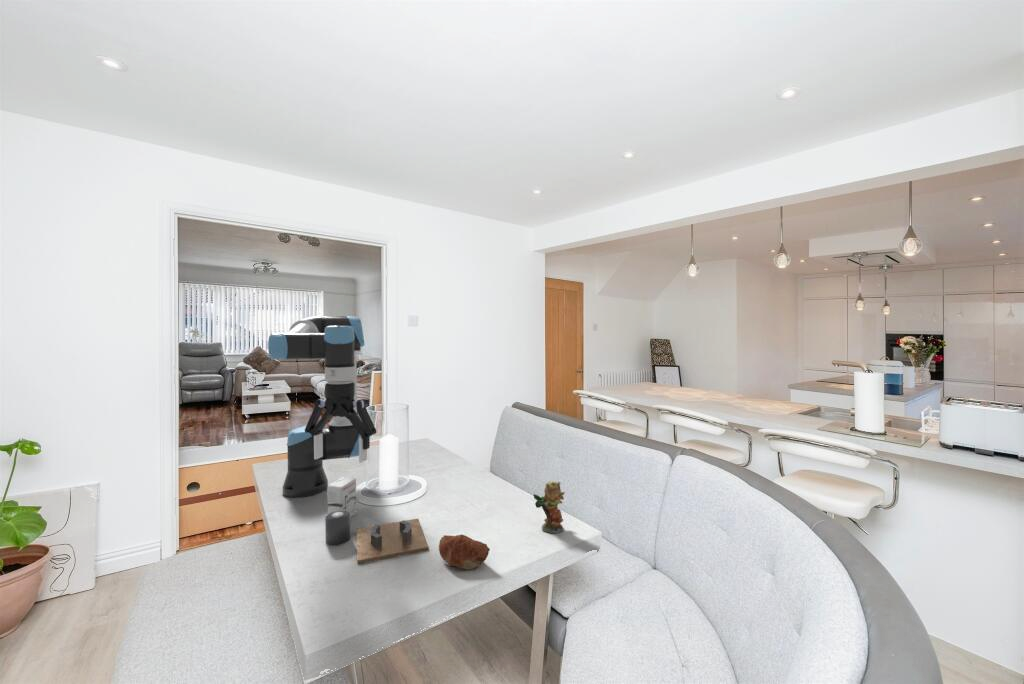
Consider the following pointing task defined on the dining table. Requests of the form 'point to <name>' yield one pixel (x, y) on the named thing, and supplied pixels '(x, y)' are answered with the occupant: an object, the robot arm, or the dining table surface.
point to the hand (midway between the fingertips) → (340, 459)
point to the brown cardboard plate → (390, 540)
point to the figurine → (551, 507)
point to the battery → (337, 528)
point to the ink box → (342, 495)
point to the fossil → (463, 551)
